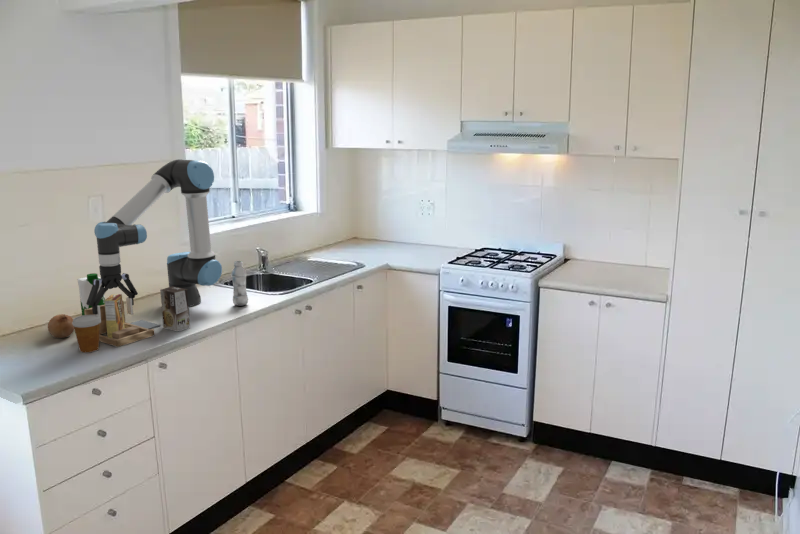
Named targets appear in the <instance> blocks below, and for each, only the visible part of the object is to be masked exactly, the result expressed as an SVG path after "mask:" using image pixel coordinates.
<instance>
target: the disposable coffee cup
mask: <svg viewBox="0 0 800 534" xmlns="http://www.w3.org/2000/svg"><path fill="white" fill-rule="evenodd" d="M72 319H73V322H72V325H73V326H74V332H75V337H76V339H77V344H78V349H79V351H80V352H81V353H94V352H95V351H98V350H99V348H100V341H99V329H100V321H101V319H100V318H99V316H98V315H83V316H82V315H79V316H76V317H74V318H72Z"/></svg>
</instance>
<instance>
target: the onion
mask: <svg viewBox="0 0 800 534" xmlns="http://www.w3.org/2000/svg"><path fill="white" fill-rule="evenodd" d="M73 319H74V318H73V317H72V316H70V315H68V314H62V313H61V314H57V315H54V316H53V317H52V318H50V319H49V322H48V324H47V331H48V333H49V334H50V335H52V336H53V337H54V338H55V339H64V338H68V337H70V336H72V334H73V332H75V329H74V326H73V325H72V322H73Z"/></svg>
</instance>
